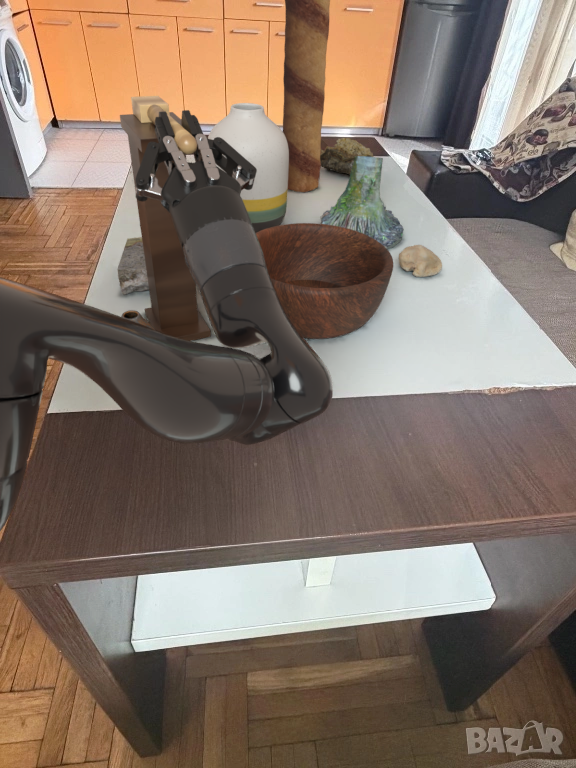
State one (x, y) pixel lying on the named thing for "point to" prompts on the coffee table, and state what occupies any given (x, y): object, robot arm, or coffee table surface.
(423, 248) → the stone
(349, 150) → the mineral specimen
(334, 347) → the coffee table surface
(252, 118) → the vase
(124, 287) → the geological specimen
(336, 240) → the wooden bowl
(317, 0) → the wafer roll
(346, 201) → the tree stump
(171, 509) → the coffee table surface
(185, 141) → the wooden mallet
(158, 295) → the stand
